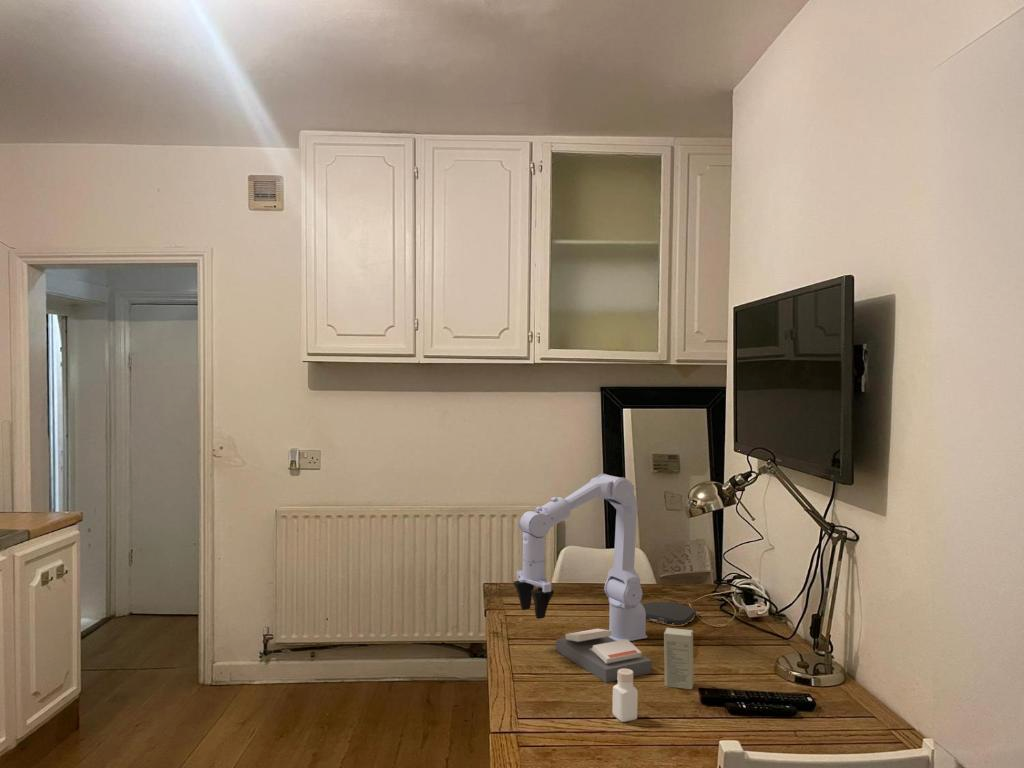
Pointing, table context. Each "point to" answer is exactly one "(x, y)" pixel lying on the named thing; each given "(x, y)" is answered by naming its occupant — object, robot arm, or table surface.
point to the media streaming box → (669, 612)
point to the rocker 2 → (616, 651)
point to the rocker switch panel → (594, 664)
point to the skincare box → (678, 658)
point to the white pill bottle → (625, 696)
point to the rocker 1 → (588, 635)
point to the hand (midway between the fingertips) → (532, 613)
